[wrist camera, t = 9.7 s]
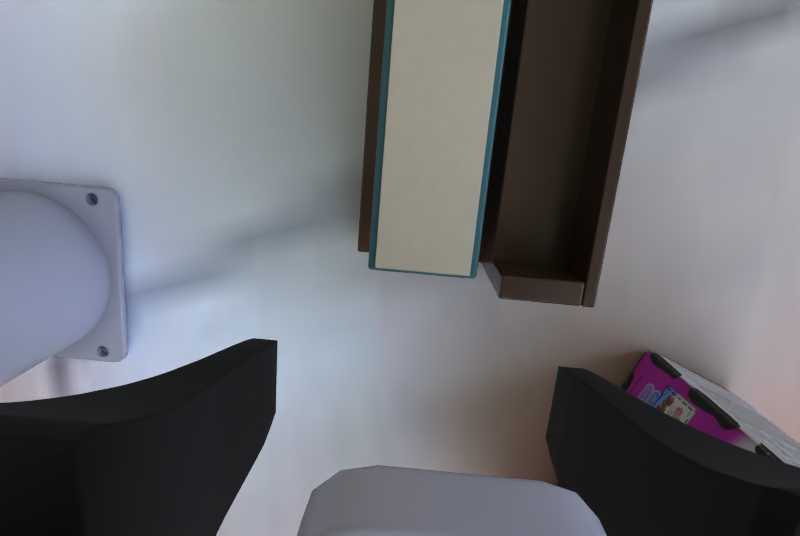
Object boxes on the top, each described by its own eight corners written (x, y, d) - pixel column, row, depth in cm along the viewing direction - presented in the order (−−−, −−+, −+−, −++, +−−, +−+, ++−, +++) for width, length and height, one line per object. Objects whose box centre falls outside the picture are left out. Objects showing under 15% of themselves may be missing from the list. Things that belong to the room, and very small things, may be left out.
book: (383, 228, 20) (367, 270, 14) (407, -84, 17) (401, -214, 11) (457, 235, 20) (476, 280, 14) (493, -77, 17) (538, -203, 11)
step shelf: (361, 243, 22) (339, 284, 16) (384, -98, 19) (367, -216, 12) (544, 259, 22) (594, 308, 16) (599, -81, 19) (690, -190, 12)
